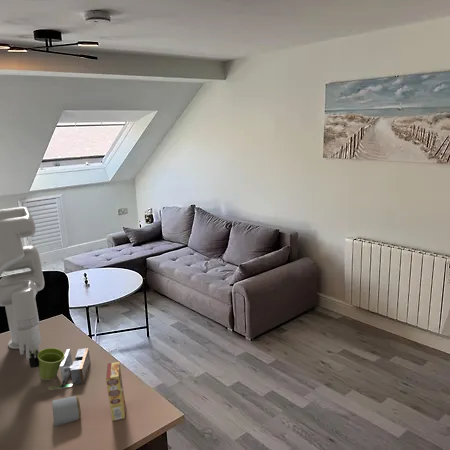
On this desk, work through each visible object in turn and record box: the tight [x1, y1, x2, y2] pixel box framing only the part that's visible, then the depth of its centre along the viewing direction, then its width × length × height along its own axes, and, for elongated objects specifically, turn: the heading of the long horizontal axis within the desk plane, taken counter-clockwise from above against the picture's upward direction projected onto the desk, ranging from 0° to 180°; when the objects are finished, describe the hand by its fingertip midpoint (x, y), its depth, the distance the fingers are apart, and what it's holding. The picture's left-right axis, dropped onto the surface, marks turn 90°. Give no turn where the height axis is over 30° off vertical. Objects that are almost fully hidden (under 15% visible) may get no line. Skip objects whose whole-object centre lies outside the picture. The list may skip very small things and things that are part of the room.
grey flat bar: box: [59, 348, 73, 386], centre depth 156 cm, size 4×14×7 cm, turn 9°
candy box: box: [105, 361, 126, 422], centre depth 134 cm, size 9×4×15 cm, turn 13°
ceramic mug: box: [51, 395, 82, 427], centre depth 133 cm, size 11×8×8 cm
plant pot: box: [38, 347, 65, 380], centre depth 155 cm, size 9×9×9 cm
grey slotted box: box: [48, 347, 91, 391], centre depth 156 cm, size 12×16×6 cm
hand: (35, 366), depth 154 cm, fingers closed
